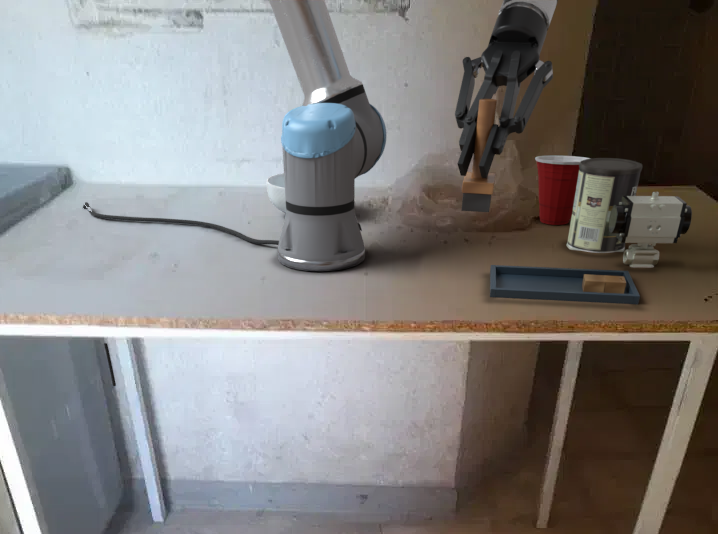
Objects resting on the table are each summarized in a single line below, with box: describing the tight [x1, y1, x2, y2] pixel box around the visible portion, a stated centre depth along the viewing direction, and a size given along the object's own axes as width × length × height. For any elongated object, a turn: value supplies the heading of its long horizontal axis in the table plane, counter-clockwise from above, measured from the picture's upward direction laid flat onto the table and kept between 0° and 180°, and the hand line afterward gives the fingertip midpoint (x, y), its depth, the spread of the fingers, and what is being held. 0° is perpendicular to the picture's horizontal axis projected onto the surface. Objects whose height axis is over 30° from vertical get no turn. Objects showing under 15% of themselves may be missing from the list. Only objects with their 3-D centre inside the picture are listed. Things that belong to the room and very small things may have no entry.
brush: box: [461, 98, 498, 213], centre depth 105 cm, size 4×7×14 cm, turn 169°
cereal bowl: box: [266, 172, 286, 214], centre depth 150 cm, size 17×17×7 cm
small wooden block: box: [603, 275, 626, 294], centre depth 112 cm, size 3×3×2 cm
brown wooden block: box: [582, 274, 605, 293], centre depth 112 cm, size 3×3×2 cm
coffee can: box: [566, 157, 644, 254], centre depth 128 cm, size 10×10×14 cm
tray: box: [489, 264, 641, 305], centre depth 114 cm, size 22×12×2 cm, turn 81°
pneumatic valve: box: [609, 191, 693, 269], centre depth 119 cm, size 6×12×12 cm, turn 86°
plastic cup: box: [534, 155, 592, 226], centre depth 143 cm, size 11×11×12 cm
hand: (472, 170), depth 103 cm, fingers closed on brush, 2 cm apart
